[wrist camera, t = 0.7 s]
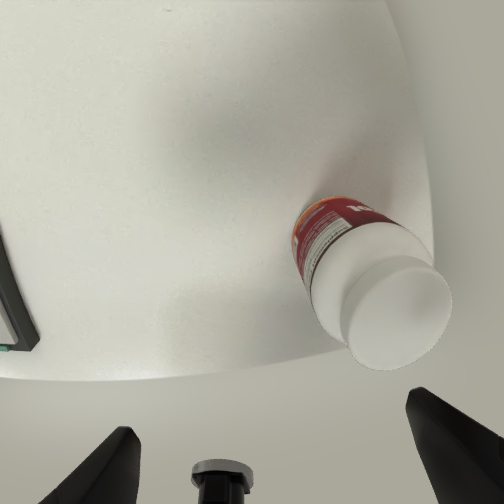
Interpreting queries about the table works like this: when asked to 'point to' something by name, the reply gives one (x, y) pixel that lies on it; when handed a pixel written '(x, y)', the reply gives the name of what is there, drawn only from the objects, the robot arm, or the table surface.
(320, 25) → the table surface
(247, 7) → the table surface
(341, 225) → the pill bottle
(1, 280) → the scale
